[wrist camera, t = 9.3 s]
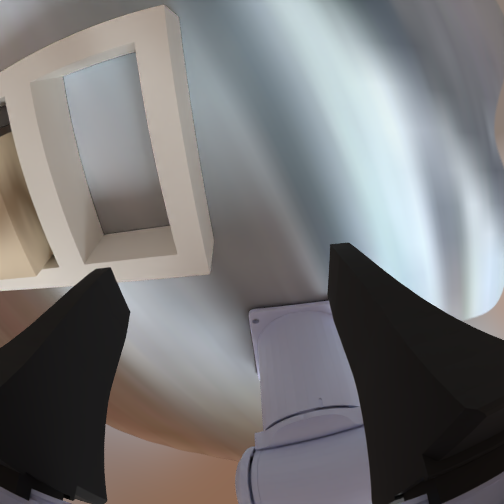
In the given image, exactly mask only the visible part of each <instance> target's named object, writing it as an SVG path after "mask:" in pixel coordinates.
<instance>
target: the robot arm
mask: <svg viewBox="0 0 504 504" xmlns="http://www.w3.org/2000/svg"><path fill="white" fill-rule="evenodd" d="M328 299H329V301H321V302H313V303H305V304H297V305H288V306H279V307H269V308H259V309H252V310H250V311H249V314H248V315H249V323H250V329H251V336H252V342H253V348H254V355H255V361H256V367H257V373H258V379H259V380H260V387H261V403H262V419H263V431H262V432H258V433H255V447H251V448H248V449H247V450H246V451H245V452H244V454H243V456H242V458H241V459H240V461H239V463H238V466H237V470H236V480H235V484H236V494H237V499H238V503H239V504H504V340H502V339H499V338H497V337H494V336H492V335H489V334H487V333H485V332H483V331H481V330H478V329H476V328H473V327H472V326H470V325H468V324H466V323H464V322H462V321H460V320H458V319H456V318H454V317H453V316H451V315H449V314H447V313H445V312H444V311H442V310H440V309H439V308H437V307H435V306H434V305H432V304H431V303H429V302H427V301H426V300H424V299H423V298H421V297H420V296H418V295H417V294H415V293H414V292H412V291H411V290H410V289H408V288H407V287H405V286H404V285H402V284H401V283H400V282H398V281H397V280H396V279H394V278H393V277H392V276H391V275H389V274H388V273H387V272H385V271H384V270H383V269H382V268H380V267H379V266H378V265H377V264H375V263H374V262H373V261H372V260H370V259H369V258H368V257H367V256H365V255H364V254H363V253H362V252H360V251H359V250H358V249H357V248H355V247H354V246H353V245H351V244H350V243H340V244H331V245H330V262H329V280H328ZM129 316H130V310H129V308H128V306H127V304H126V302H125V299H124V297H123V295H122V293H121V290H120V288H119V286H118V283H117V281H116V279H115V276H114V274H113V271H112V269H111V267H107V268H98V269H95V270H93V271H92V272H91V273H89V274H88V275H87V276H85V277H84V278H83V279H82V280H81V281H79V282H78V283H77V284H76V285H75V286H74V287H73V288H71V289H70V290H69V291H68V292H67V293H66V294H65V295H64V296H63V297H61V298H60V299H59V300H58V301H57V302H56V303H55V304H54V305H53V306H52V307H50V308H49V309H48V310H47V311H46V312H45V313H44V314H42V315H41V316H40V317H39V318H38V319H37V320H36V321H35V322H34V323H32V324H31V325H30V326H29V327H28V328H26V329H25V330H24V331H23V332H21V333H20V334H19V335H18V336H16V337H15V338H14V339H12V340H11V341H10V342H8V343H7V344H6V345H4V346H3V347H1V348H0V504H71V503H68V502H65V501H63V498H66V499H69V500H72V501H73V500H74V499H77V500H80V501H84V502H87V503H91V504H104V503H106V502H107V495H106V486H105V474H104V439H105V438H104V437H105V424H106V415H107V407H108V400H109V396H110V391H111V387H112V383H113V380H114V376H115V373H116V369H117V366H118V362H119V359H120V356H121V352H122V349H123V345H124V342H125V339H126V334H127V328H128V322H129ZM254 319H258V320H254Z"/></svg>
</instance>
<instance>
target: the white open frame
mask: <svg viewBox="0 0 504 504" xmlns="http://www.w3.org/2000/svg"><path fill="white" fill-rule="evenodd" d="M133 52H136V57H137V64H138V71H139V78H140V84H141V90H142V96H143V102H144V107H145V113H146V118H147V124H148V129H149V134H150V139H151V144H152V149H153V154H154V159H155V163H156V168H157V172H158V177H159V181H160V186H161V190H162V194H163V199H164V203H165V207H166V211H167V215H168V219H169V223H170V226H164V227H156V228H149V229H141V230H134V231H127V232H120V233H113V234H106V235H104V233H103V231H102V228H101V225H100V222H99V219H98V216H97V213H96V210H95V207H94V204H93V201H92V197H91V194H90V191H89V188H88V184H87V181H86V177H85V174H84V170H83V167H82V163H81V159H80V156H79V152H78V148H77V144H76V140H75V135H74V131H73V127H72V122H71V118H70V113H69V108H68V103H67V98H66V92H65V87H64V81H63V77H64V76H66V75H68V74H71V73H74V72H76V71H79V70H81V69H84V68H87V67H89V66H92V65H95V64H98V63H101V62H104V61H107V60H110V59H113V58H116V57H120V56H123V55H126V54H130V53H133ZM5 104H6V106H7V112H8V117H9V121H10V126H11V130H12V134H13V138H14V142H15V146H16V150H17V154H18V157H19V161H20V164H21V168H22V171H23V174H24V178H25V181H26V184H27V187H28V190H29V193H30V196H31V199H32V202H33V204H34V207H35V210H36V213H37V215H38V218H39V220H40V223H41V226H42V228H43V230H44V233H45V235H46V238H47V240H48V243H49V245H50V247H51V249H52V252H53V255H52V256H51V258H50V259H49V260H48V261H47V263H46V264H45V265H44V267H43V268H42V269H41V271H40V272H39V273H38V275H37V276H36V277H25V278H15V279H4V280H0V291H6V290H22V289H37V288H52V287H66V286H75V285H76V284H77V283H78V282H79V281H81V280H82V279H83V278H84V277H85V276H87V275H88V274H89V273H91V272H92V271H93V270H95V269H98V268H107V267H111V269H112V271H113V274H114V276H115V279H116V281H117V282H129V281H141V280H153V279H164V278H175V277H186V276H197V275H207V274H210V271H211V263H212V255H213V247H214V237H213V232H212V227H211V221H210V216H209V210H208V205H207V199H206V194H205V188H204V182H203V176H202V171H201V165H200V159H199V153H198V147H197V141H196V134H195V128H194V122H193V115H192V109H191V102H190V95H189V89H188V82H187V75H186V67H185V60H184V53H183V45H182V37H181V29H180V21H179V16H177V15H176V14H175V13H174V12H173V11H171V10H170V9H169V8H168V7H166V6H165V5H164V4H163V5H159V6H155V7H151V8H147V9H144V10H140V11H137V12H133V13H130V14H126V15H123V16H120V17H117V18H114V19H111V20H108V21H105V22H103V23H100V24H97V25H94V26H92V27H89V28H87V29H84V30H82V31H79V32H77V33H74V34H72V35H70V36H67V37H65V38H63V39H61V40H59V41H56V42H54V43H52V44H50V45H48V46H46V47H44V48H42V49H40V50H38V51H36V52H34V53H32V54H31V55H29V56H27V57H25V58H23V59H21V60H20V61H18V62H16V63H15V64H13V65H11V66H9V67H8V68H6V69H5V70H3V71H1V72H0V107H2V106H4V105H5Z"/></svg>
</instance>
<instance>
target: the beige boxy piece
mask: <svg viewBox="0 0 504 504" xmlns="http://www.w3.org/2000/svg"><path fill="white" fill-rule="evenodd" d="M52 255H53V252H52V249H51V247H50V245H49V243H48V240H47V238H46V235H45V233H44V230H43V228H42V226H41V223H40V220H39V218H38V215H37V213H36V210H35V207H34V204H33V202H32V199H31V196H30V193H29V190H28V187H27V184H26V181H25V178H24V174H23V171H22V168H21V164H20V161H19V157H18V154H17V150H16V146H15V142H14V138H13V134H12V130H11V126H10V124H9V125H7V126H4V127H2V128H0V280H4V279H15V278H25V277H36V276H37V275H38V273H39V272H40V271H41V269H42V268H43V267H44V265H45V264H46V263H47V261H48V260H49V259H50V258H51V256H52Z"/></svg>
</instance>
